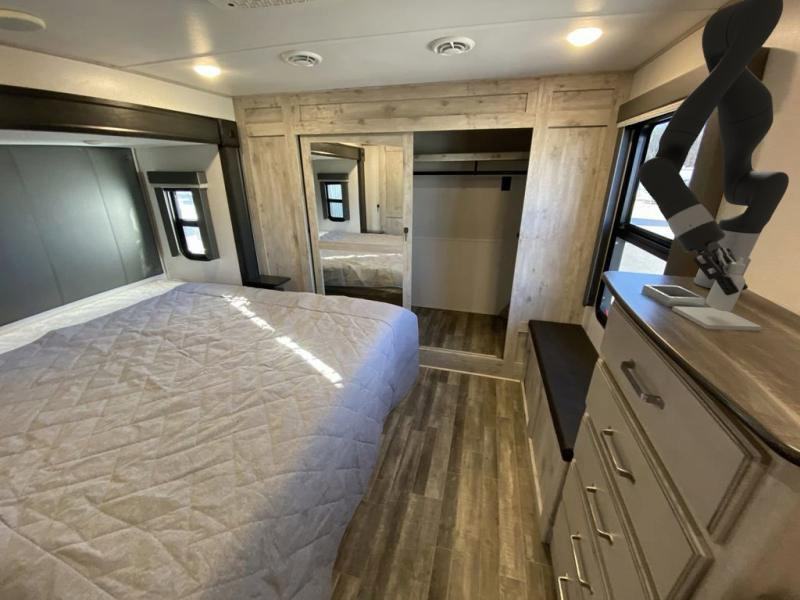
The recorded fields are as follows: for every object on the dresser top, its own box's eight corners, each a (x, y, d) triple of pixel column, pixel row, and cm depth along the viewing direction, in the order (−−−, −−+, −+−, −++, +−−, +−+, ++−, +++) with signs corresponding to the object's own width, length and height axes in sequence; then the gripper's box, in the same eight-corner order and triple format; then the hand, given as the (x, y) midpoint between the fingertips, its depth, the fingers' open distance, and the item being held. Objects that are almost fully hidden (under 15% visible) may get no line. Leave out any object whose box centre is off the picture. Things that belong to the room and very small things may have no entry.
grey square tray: (674, 293, 91) (677, 285, 90) (703, 307, 82) (707, 298, 81) (641, 292, 91) (644, 284, 90) (666, 306, 82) (669, 297, 81)
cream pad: (719, 311, 80) (721, 308, 80) (759, 330, 71) (761, 326, 71) (672, 309, 80) (673, 306, 80) (706, 328, 71) (707, 324, 71)
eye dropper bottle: (728, 306, 75) (753, 257, 70) (731, 313, 71) (757, 262, 66) (704, 301, 78) (726, 253, 73) (705, 307, 74) (728, 258, 69)
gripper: (699, 220, 69) (747, 290, 65) (725, 217, 76) (771, 280, 71) (663, 239, 76) (704, 303, 71) (690, 235, 82) (729, 293, 77)
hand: (737, 291), depth 71 cm, fingers closed on eye dropper bottle, 4 cm apart
